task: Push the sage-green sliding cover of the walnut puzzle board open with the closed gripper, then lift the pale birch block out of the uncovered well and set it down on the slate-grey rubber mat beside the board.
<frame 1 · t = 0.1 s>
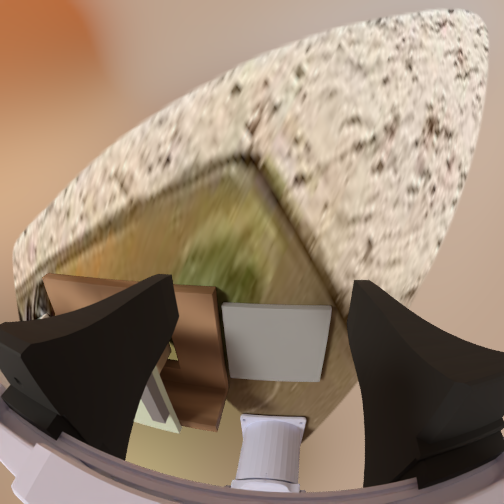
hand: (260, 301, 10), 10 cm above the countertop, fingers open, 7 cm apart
cover: (117, 388, 19), point 7 cm above the countertop, slide at 0.0 cm
mat: (276, 345, 24), on the countertop
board: (128, 332, 26), on the countertop
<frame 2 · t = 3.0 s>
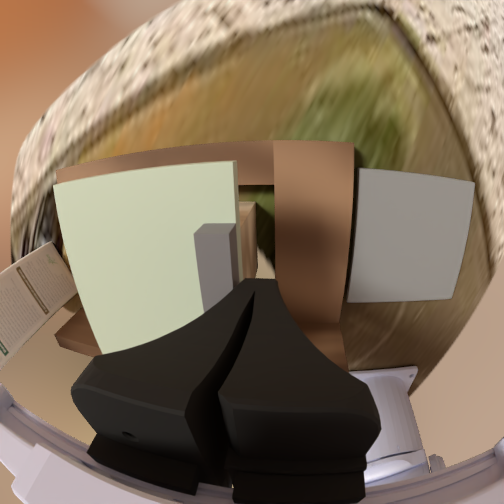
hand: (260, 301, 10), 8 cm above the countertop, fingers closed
cover: (144, 306, 12), point 7 cm above the countertop, slide at 2.1 cm, touching gripper
mat: (413, 239, 16), on the countertop
block: (222, 235, 18), resting in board
syrup box: (56, 274, 22), on the countertop
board: (187, 243, 18), on the countertop
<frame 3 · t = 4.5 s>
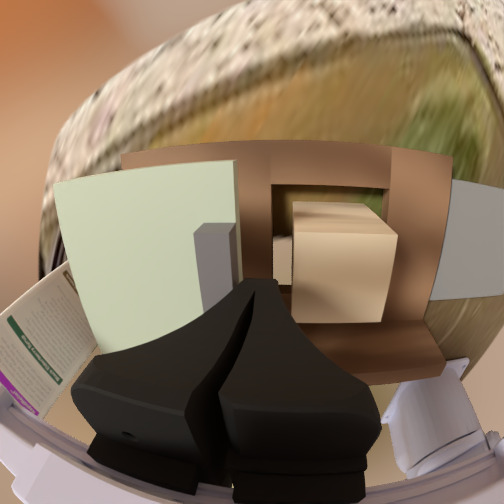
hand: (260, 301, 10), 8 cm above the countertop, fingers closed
cover: (143, 305, 12), point 7 cm above the countertop, slide at 8.9 cm, touching gripper
mat: (481, 243, 15), on the countertop
block: (327, 236, 17), resting in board
syrup box: (103, 278, 21), on the countertop
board: (288, 243, 17), on the countertop
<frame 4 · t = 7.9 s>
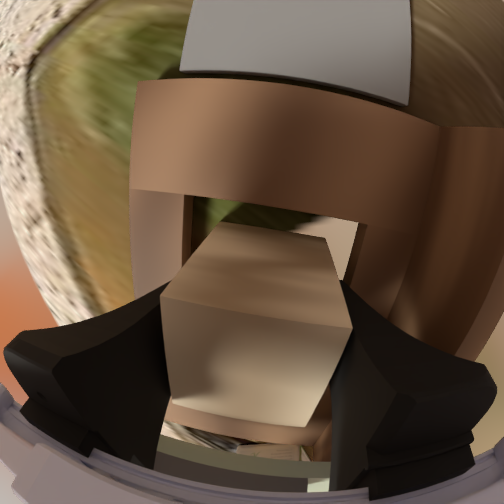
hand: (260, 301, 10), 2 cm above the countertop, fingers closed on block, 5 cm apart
cover: (237, 499, 9), point 7 cm above the countertop, slide at 8.9 cm
block: (265, 276, 12), resting in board, touching gripper
syrup box: (277, 453, 19), on the countertop
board: (267, 322, 13), on the countertop
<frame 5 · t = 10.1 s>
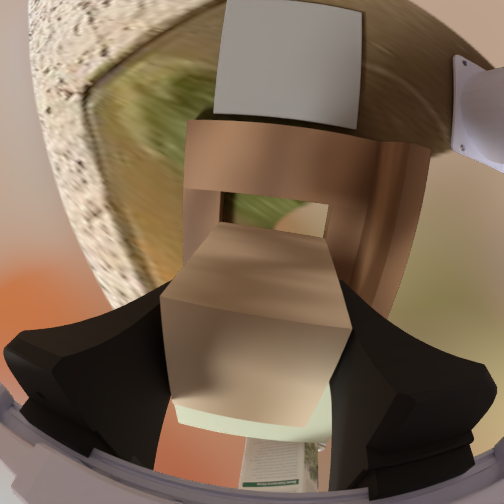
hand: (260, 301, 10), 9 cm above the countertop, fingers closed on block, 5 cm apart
cover: (258, 411, 16), point 7 cm above the countertop, slide at 8.9 cm
mat: (290, 56, 14), on the countertop
block: (265, 276, 12), point 7 cm above the countertop, touching gripper
syrup box: (286, 403, 26), on the countertop
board: (274, 276, 20), on the countertop
when the fingers open (4 cm above the countertop, at t = 12.5 s): block stays where it is, resting on mat.
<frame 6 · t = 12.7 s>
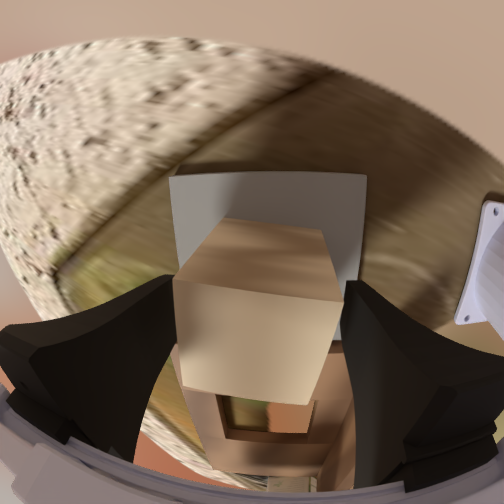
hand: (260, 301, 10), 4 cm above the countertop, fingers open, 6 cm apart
mat: (267, 262, 14), on the countertop
block: (266, 267, 13), point 1 cm above the countertop, touching mat
syrup box: (297, 478, 25), on the countertop
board: (273, 427, 20), on the countertop
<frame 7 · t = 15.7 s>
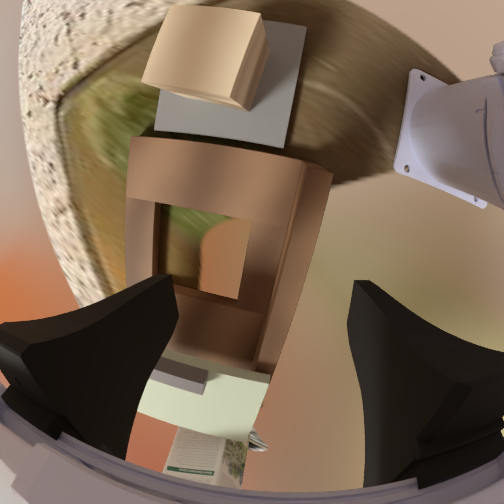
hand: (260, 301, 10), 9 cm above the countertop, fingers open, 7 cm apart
cover: (175, 400, 17), point 7 cm above the countertop, slide at 8.9 cm
mat: (228, 75, 15), on the countertop
block: (226, 73, 15), point 1 cm above the countertop, touching mat
syrup box: (224, 400, 28), on the countertop
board: (203, 280, 21), on the countertop
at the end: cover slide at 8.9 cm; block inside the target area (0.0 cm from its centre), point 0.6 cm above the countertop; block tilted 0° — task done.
